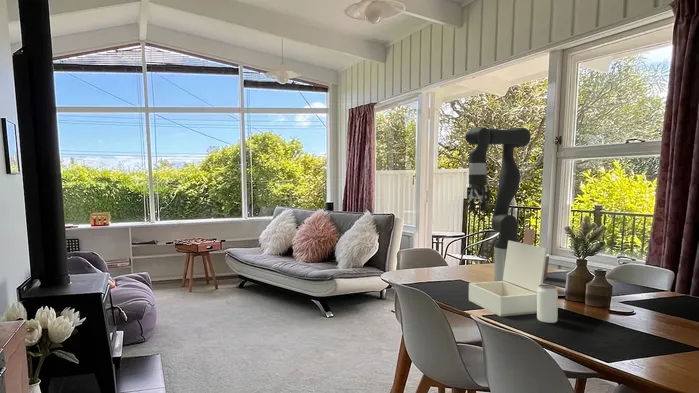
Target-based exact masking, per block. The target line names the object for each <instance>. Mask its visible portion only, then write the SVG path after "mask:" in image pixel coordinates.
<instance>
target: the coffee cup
mask: <svg viewBox="0 0 699 393" xmlns="http://www.w3.org/2000/svg"><path fill="white" fill-rule="evenodd" d="M550 256H551V254H549V253H547V255H546V262H545V269H544V276H543V280H547V275H548V271H549V270H548V269H549V261H550Z"/></svg>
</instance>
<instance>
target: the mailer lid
mask: <svg viewBox="0 0 699 393" xmlns="http://www.w3.org/2000/svg"><path fill="white" fill-rule="evenodd" d="M535 233H536V229H530V228H524V232H523V240H522V241H523V242H519V241H517V242H514V241H508V246H507V253H506V260H505V267H504V274H503V280H504V281H507V282H510V283H512V284H514V285H515V286H518V287H521V288H523V289H526V290H529V291H531V292H534V293H537V289H538V288H539V285H544V284H543V283H544V279H543V276H544V269H545V262H546V255H547V254H548V248H546V247H542V246H538V245H534V241H535Z"/></svg>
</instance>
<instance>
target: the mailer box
mask: <svg viewBox="0 0 699 393" xmlns="http://www.w3.org/2000/svg"><path fill="white" fill-rule="evenodd" d="M468 301H469V302H472V303H473V304H475V305H477V306H479V307H481V308H483V309H485V310H486V311H489V312H491V313H493V314H495V315H497V316H499V317H501V318H502V317H509V316H510V317H511V316H512V317H513V316H520V315H532V314H537V292H534V291H532V290H529V289H526V288H523V287H521V286H518V285H515V284H514V285H512V284H510V283H507V282H504V281H497V282H494V281H485V282H484V281H483V282H470V283H468Z"/></svg>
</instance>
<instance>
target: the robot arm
mask: <svg viewBox="0 0 699 393" xmlns="http://www.w3.org/2000/svg"><path fill="white" fill-rule="evenodd" d="M464 135H465V136H464V138H465V142H467V143H468V144H469V145H471V146H473V145H477V146H476V148H475V149H472V150H470V151H469V155H468V157H469V158H468V159H469V160H468V161H469V162H468V163H469V165H468V185H471V186H468V187H466V201H468V202H469V211H475V210H476V200H477V199H478V200H479V202H480V203H479V209H480V212H486V210H487V209H486V208H487V202H490V187H488V186H485V185H487V183H488V182H487V181H488V180H487V179H488V178H487V172H488V171H487V168H488V167H487V152H488V148H489V146H490V145H502V157H501V158H502V160H501V166H500V174H499V180H498V188H497V194H496V201H495V206H494V209H493V213H492V217H491V227H492V230H493V231H494V232H496V233H499V238H498V240H495V242H494V264H493V265H494V268H493V269H494V272H493V274H494V279H493V282H497V281H504V280H503V274H504V267H505V260H506V253H507V246H508V241H514V242H518V221H517V218H516V217H515V216H514V215H511V214H509V210H510V209H509V208H510V207H511V206H510V205H511V203H512V201H513V199H514V198H515V196H516V194H517V192H518V190H519V187H520V181H521V173H520V170H519V167H518V165H517V164H516V160H515V158H514V157H515V156H514V151H515V150H514V149H515V148H523V147H526V146H528V145H529V144H530V143H531V142H530V141H531V132H530V130H529V129H528V128H526V127H511V128H507V129H503V128H502V129H501V128H500V129H499V128H487V127H485V126H483V127H477V128H476V127H475V128H469V129H468V130H467V131H466V133H465V134H464ZM504 282H507V281H504ZM507 283H510V282H507ZM510 284H512V283H510ZM512 285H515V284H512Z"/></svg>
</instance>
